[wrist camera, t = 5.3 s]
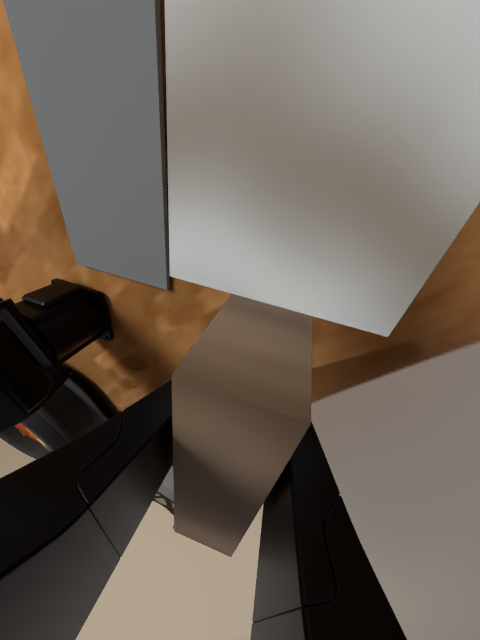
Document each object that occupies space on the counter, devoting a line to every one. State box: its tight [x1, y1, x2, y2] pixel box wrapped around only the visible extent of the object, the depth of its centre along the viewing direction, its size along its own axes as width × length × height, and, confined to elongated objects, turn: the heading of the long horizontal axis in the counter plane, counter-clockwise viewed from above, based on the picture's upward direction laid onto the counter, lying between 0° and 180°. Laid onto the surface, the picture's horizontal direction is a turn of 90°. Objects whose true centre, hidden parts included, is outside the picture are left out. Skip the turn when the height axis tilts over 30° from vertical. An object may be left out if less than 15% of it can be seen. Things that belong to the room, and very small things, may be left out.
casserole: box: [0, 377, 110, 459], centre depth 36 cm, size 25×19×8 cm
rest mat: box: [3, 0, 170, 290], centre depth 15 cm, size 22×10×1 cm, turn 171°
